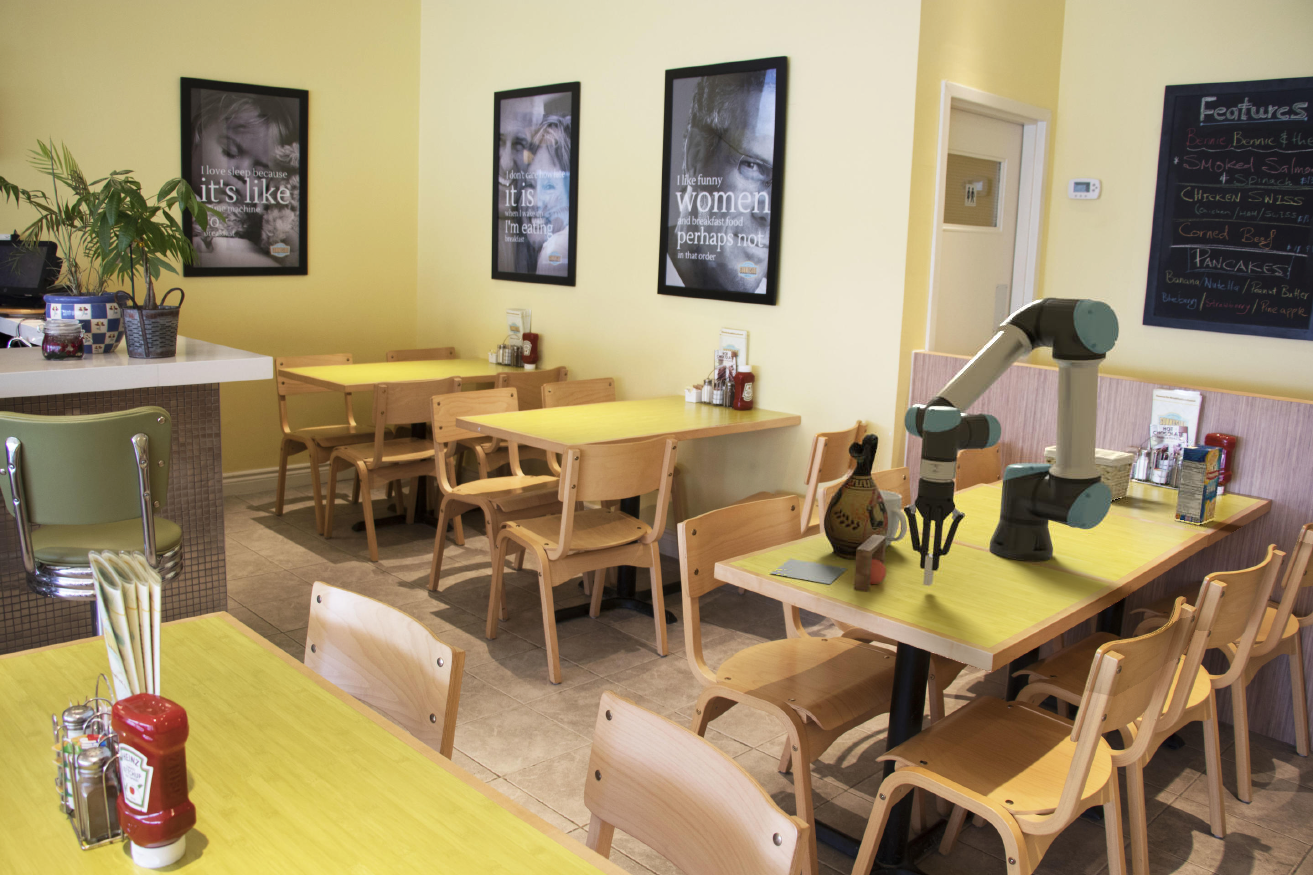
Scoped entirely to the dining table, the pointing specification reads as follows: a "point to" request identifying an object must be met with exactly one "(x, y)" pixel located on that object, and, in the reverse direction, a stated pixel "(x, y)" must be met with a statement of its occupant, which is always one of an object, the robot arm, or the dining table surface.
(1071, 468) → the robot arm
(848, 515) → the ceramic jug
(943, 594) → the dining table surface
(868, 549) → the bridge
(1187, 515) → the blue cardboard box
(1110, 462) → the storage basket
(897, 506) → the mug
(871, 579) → the ball
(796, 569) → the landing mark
